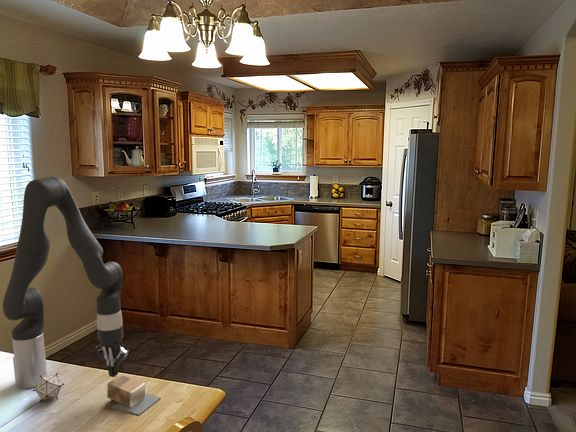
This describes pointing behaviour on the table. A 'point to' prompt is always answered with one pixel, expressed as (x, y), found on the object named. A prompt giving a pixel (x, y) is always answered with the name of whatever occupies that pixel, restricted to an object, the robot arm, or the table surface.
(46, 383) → the game die
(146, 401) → the slate-grey rubber mat
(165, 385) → the table surface
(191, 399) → the table surface
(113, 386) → the walnut block
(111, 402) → the stop strip
